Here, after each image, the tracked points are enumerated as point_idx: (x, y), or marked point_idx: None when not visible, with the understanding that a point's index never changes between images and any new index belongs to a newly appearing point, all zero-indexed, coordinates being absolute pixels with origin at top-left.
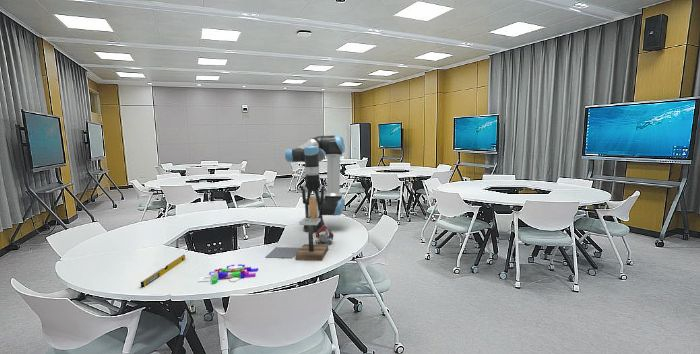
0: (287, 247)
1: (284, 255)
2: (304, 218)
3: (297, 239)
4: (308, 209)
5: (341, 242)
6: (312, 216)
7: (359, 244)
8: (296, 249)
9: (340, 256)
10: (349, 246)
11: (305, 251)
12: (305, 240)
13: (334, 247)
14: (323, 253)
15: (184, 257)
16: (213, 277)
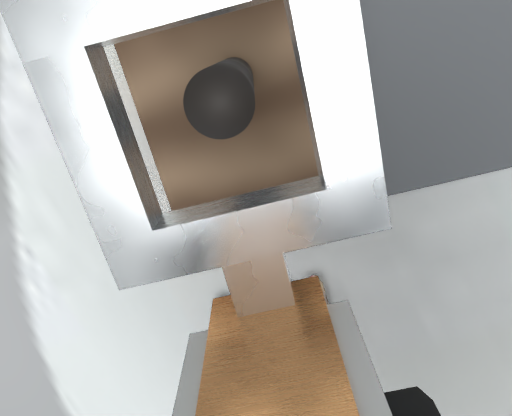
0: (486, 172)
1: (439, 5)
2: (371, 192)
3: (480, 337)
4: (379, 398)
5: (179, 365)
6: (279, 313)
7: (57, 365)
8: (402, 155)
9: (44, 140)
10: (94, 320)
11: (273, 48)
12: (419, 335)
13: (174, 278)
14: (128, 77)
15: None
16: None
